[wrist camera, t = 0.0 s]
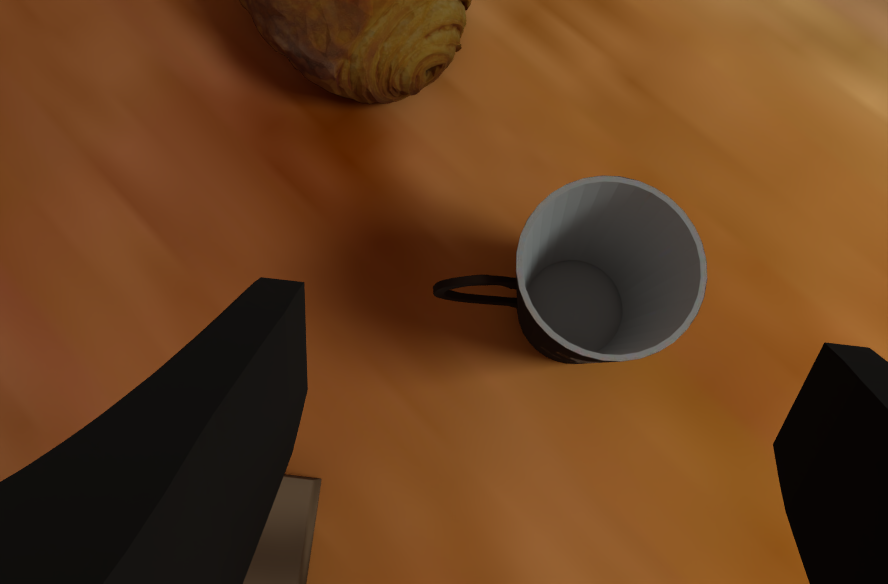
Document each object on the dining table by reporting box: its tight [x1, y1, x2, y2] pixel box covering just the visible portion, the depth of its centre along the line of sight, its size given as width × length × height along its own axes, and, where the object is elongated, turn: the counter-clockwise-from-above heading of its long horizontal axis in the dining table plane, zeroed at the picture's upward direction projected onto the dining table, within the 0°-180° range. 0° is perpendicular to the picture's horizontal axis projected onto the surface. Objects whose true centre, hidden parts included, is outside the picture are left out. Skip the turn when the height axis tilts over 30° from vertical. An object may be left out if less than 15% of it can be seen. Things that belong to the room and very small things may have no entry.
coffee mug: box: [433, 176, 707, 364], centre depth 39 cm, size 12×9×10 cm
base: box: [243, 474, 321, 584], centre depth 39 cm, size 9×9×3 cm
